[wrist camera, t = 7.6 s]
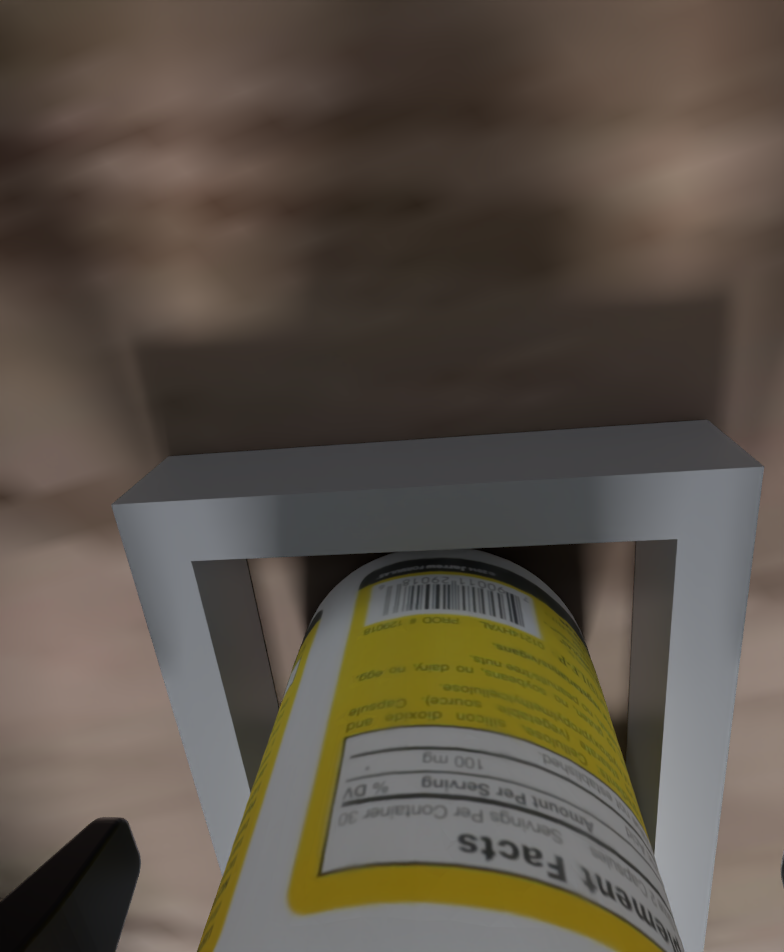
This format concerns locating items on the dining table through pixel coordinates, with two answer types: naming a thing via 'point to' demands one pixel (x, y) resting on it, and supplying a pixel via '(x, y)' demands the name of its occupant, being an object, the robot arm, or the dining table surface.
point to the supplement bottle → (442, 780)
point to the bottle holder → (463, 527)
